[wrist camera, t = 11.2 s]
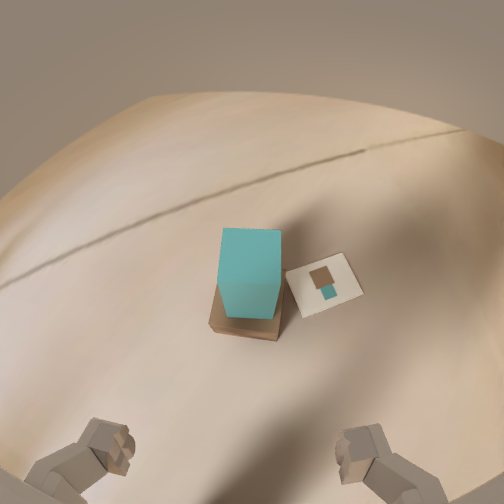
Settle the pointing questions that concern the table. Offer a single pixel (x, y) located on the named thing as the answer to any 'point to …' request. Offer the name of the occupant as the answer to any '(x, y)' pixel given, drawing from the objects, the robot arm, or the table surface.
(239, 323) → the walnut brick
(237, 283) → the teal brick
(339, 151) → the table surface
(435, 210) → the table surface
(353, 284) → the page
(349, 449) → the robot arm
